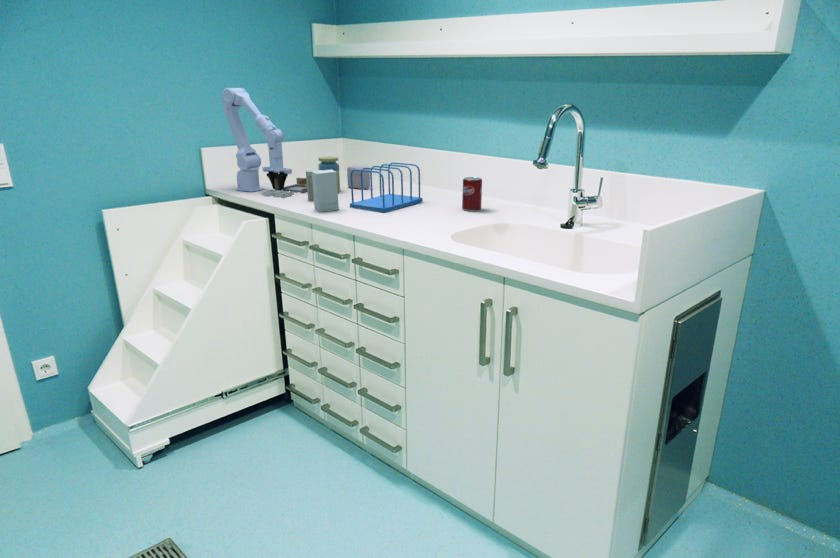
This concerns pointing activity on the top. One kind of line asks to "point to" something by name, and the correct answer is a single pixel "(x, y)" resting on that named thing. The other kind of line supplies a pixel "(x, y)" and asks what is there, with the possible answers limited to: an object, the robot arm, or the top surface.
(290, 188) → the pattern board
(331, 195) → the skincare box
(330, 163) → the jar
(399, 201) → the file sorter
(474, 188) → the soda can
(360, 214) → the top surface
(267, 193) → the socket board
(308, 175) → the skincare box
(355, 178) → the electronic device
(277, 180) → the peg
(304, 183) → the cover
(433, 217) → the top surface
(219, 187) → the top surface
